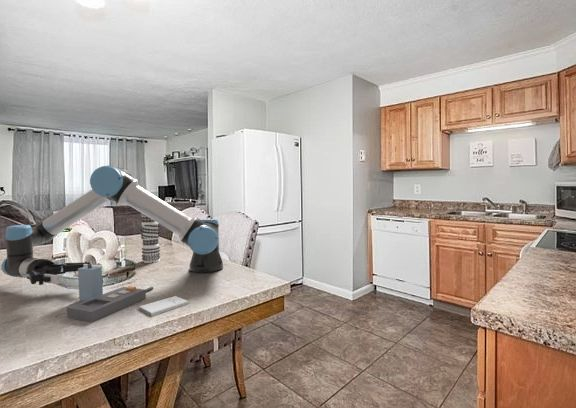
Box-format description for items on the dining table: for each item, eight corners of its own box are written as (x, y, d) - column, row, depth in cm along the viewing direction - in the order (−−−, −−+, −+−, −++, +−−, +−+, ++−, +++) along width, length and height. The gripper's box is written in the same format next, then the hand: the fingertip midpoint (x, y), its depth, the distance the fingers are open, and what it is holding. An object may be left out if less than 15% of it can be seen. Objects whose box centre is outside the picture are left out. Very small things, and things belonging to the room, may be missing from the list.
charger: (90, 296, 110) (88, 262, 109) (102, 298, 108) (101, 263, 107) (79, 300, 106) (77, 265, 106) (92, 302, 104) (90, 266, 103)
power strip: (142, 287, 119) (142, 277, 119) (163, 290, 116) (163, 280, 115) (67, 317, 92) (66, 304, 92) (91, 322, 89) (91, 309, 89)
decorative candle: (164, 259, 164) (163, 212, 162) (150, 263, 156) (148, 213, 154) (152, 258, 168) (150, 211, 166) (137, 262, 159) (135, 213, 158)
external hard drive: (138, 311, 98) (174, 299, 108) (151, 318, 93) (188, 305, 103) (138, 306, 98) (174, 295, 108) (151, 312, 93) (188, 300, 102)
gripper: (71, 270, 127) (111, 275, 120) (-3, 289, 104) (40, 297, 96) (71, 252, 127) (110, 255, 119) (-4, 267, 103) (39, 273, 96)
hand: (79, 274), depth 108 cm, fingers open, 13 cm apart
